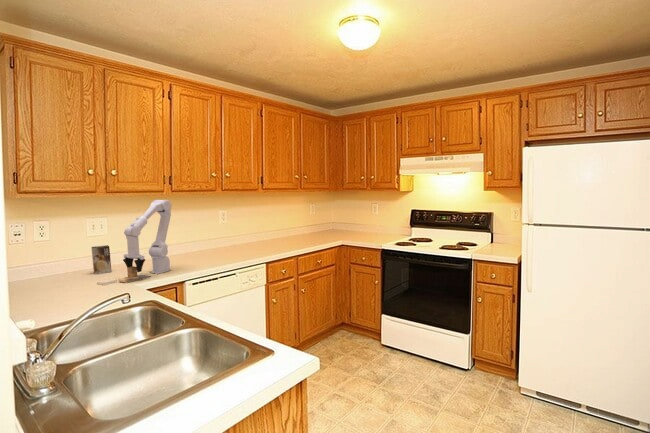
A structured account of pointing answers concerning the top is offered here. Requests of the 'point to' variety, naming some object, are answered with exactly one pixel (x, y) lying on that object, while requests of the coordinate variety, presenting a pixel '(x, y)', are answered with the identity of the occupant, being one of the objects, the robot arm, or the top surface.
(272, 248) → the top surface
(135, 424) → the top surface
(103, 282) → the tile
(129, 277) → the brown l-shaped block
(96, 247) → the coffee box
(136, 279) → the mat
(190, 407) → the top surface
